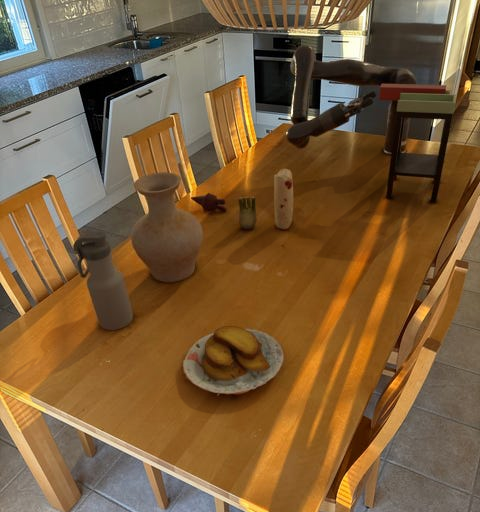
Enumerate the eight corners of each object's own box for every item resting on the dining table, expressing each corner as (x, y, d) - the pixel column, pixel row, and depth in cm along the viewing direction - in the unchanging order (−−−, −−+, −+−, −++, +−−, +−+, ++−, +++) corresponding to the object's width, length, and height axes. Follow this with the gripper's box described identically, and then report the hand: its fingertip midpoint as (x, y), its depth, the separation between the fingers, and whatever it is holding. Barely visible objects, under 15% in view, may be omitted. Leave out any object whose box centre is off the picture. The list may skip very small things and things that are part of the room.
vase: (133, 260, 170) (113, 175, 151) (196, 245, 175) (184, 161, 156) (146, 296, 154) (125, 205, 135) (215, 279, 159) (204, 189, 140)
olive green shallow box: (399, 103, 179) (400, 92, 177) (454, 105, 173) (456, 94, 171) (396, 111, 172) (397, 100, 170) (453, 113, 167) (455, 102, 165)
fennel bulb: (258, 226, 183) (256, 195, 175) (252, 232, 179) (250, 201, 172) (243, 223, 185) (241, 193, 177) (237, 230, 181) (235, 199, 174)
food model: (293, 231, 178) (293, 177, 165) (274, 232, 179) (273, 178, 166) (293, 218, 186) (293, 165, 173) (274, 218, 186) (273, 166, 174)
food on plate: (173, 398, 121) (168, 379, 117) (195, 330, 140) (192, 312, 136) (280, 405, 117) (279, 385, 113) (288, 334, 136) (287, 315, 132)
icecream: (184, 197, 191) (220, 205, 186) (193, 184, 194) (229, 192, 190) (188, 210, 196) (222, 219, 192) (196, 198, 200) (231, 206, 195)
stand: (391, 177, 206) (402, 94, 186) (438, 181, 201) (454, 96, 181) (385, 198, 193) (396, 111, 172) (435, 203, 187) (453, 113, 167)
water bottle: (92, 330, 143) (64, 244, 125) (104, 309, 150) (79, 224, 133) (127, 332, 141) (103, 244, 124) (137, 310, 149) (116, 225, 131)
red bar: (380, 96, 186) (381, 83, 183) (449, 98, 179) (451, 85, 176) (378, 100, 183) (380, 87, 180) (448, 102, 176) (451, 89, 173)
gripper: (325, 114, 188) (366, 92, 178) (333, 102, 198) (372, 81, 189) (334, 133, 191) (375, 112, 181) (342, 120, 201) (380, 100, 192)
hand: (373, 96), depth 185 cm, fingers open, 8 cm apart
